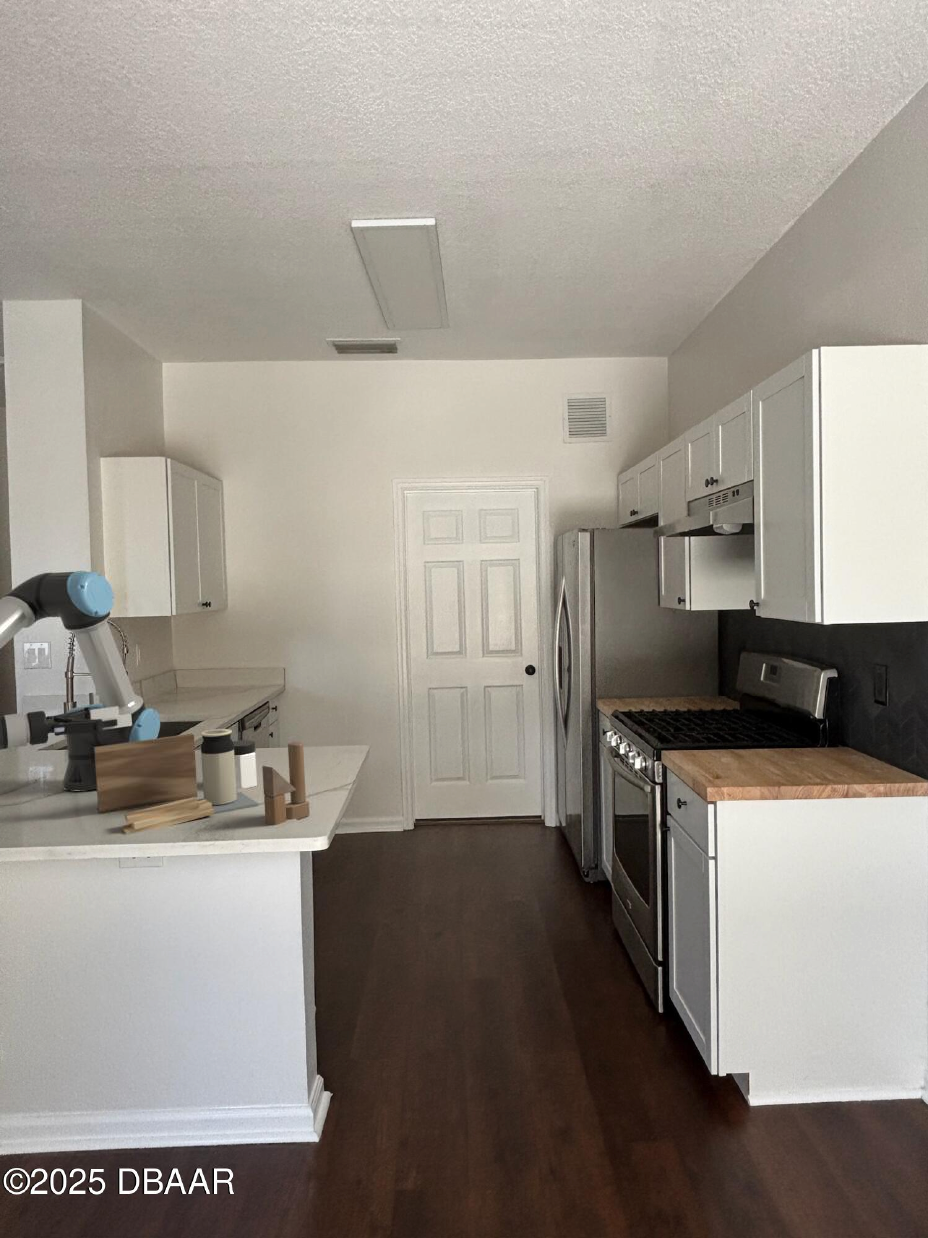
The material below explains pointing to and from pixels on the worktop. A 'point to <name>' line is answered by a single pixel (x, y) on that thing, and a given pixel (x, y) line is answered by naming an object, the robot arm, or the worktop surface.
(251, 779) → the jar
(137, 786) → the wooden board
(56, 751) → the worktop surface
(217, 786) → the travel mug
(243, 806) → the mat
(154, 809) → the offcut stack
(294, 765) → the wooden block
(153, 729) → the robot arm
